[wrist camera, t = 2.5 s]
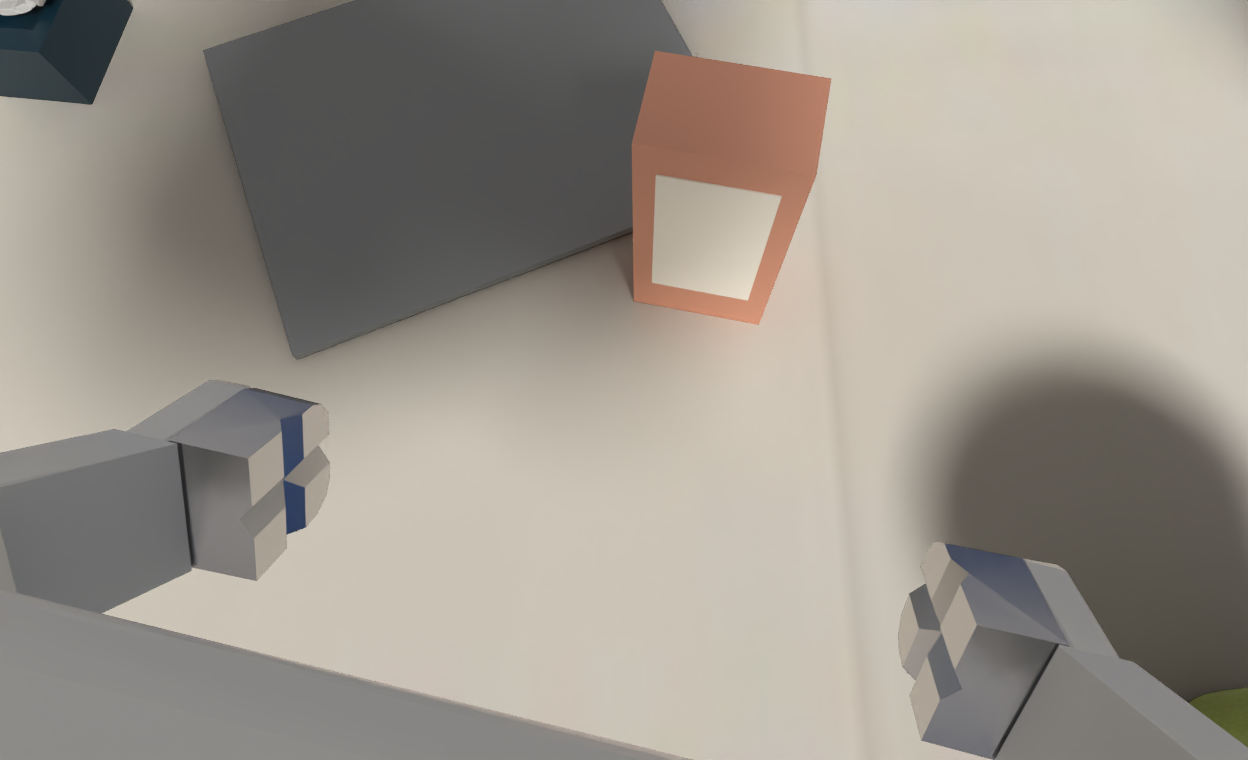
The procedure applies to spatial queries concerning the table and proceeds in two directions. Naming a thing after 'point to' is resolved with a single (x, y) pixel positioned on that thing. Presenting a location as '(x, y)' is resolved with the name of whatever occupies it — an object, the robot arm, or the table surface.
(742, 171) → the block
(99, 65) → the watch
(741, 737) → the table surface
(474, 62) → the mat
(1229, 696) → the plant pot
